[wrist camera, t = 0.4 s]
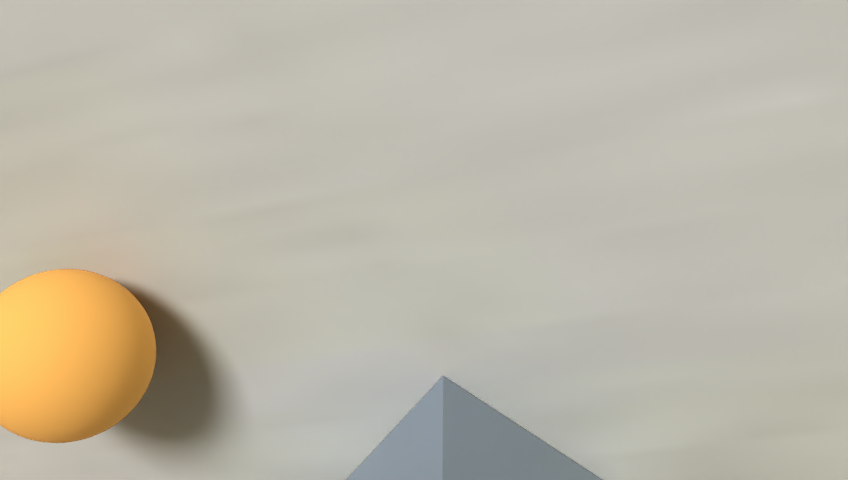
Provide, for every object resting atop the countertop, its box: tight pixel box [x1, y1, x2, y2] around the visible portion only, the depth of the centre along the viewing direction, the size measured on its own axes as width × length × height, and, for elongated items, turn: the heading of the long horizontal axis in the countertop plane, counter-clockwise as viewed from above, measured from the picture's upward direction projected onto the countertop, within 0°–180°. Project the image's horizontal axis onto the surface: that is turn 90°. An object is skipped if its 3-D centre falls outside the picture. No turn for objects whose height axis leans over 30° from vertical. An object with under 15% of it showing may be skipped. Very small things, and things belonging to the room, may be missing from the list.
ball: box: [0, 269, 156, 443], centre depth 23 cm, size 5×5×5 cm
